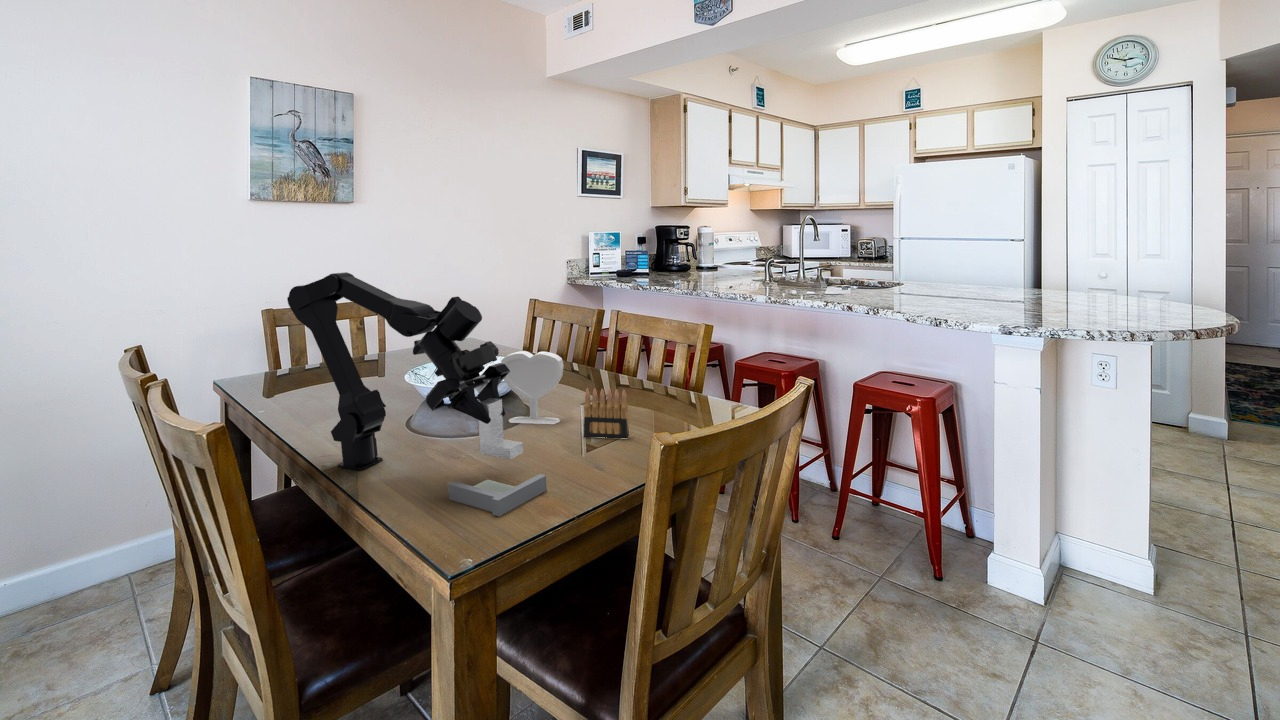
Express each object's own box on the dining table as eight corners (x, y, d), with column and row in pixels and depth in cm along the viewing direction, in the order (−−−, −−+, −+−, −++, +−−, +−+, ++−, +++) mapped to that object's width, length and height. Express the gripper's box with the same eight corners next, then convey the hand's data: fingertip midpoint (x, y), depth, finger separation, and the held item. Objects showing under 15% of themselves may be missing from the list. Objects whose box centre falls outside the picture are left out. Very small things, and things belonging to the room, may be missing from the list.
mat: (461, 493, 119) (461, 491, 119) (487, 480, 125) (487, 479, 125) (501, 504, 114) (501, 503, 114) (526, 491, 120) (526, 489, 120)
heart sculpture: (502, 422, 163) (498, 353, 159) (508, 416, 167) (505, 350, 164) (561, 424, 161) (559, 355, 157) (565, 418, 166) (563, 351, 162)
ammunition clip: (629, 437, 151) (628, 388, 148) (627, 439, 149) (627, 390, 147) (585, 435, 152) (584, 386, 150) (583, 437, 151) (582, 388, 148)
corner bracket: (445, 500, 116) (444, 485, 115) (495, 477, 126) (494, 462, 126) (499, 516, 109) (498, 500, 108) (546, 490, 120) (546, 475, 119)
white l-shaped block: (480, 453, 120) (477, 402, 118) (493, 447, 124) (491, 397, 122) (510, 459, 117) (508, 407, 115) (523, 452, 121) (521, 401, 119)
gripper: (433, 337, 110) (488, 406, 108) (500, 323, 127) (548, 382, 124) (403, 377, 115) (454, 443, 113) (471, 358, 131) (516, 415, 129)
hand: (496, 419), depth 119 cm, fingers closed on white l-shaped block, 4 cm apart
